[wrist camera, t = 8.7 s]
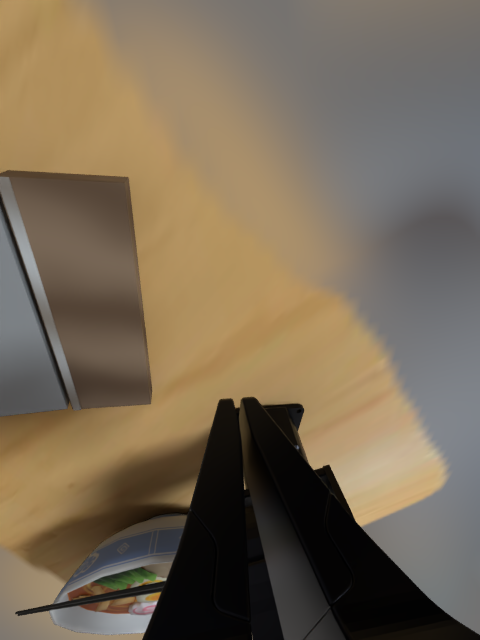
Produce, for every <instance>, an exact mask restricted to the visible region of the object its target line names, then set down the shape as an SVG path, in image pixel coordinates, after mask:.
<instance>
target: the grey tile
mask: <svg viewBox="0 0 480 640" xmlns="http://www.w3.org/2000/svg"><path fill="white" fill-rule="evenodd" d="M69 401H70V400H69V397H68V394H67V391H66V388H65V385H64V382H63V379H62V376H61V373H60V370H59V367H58V364H57V361H56V358H55V355H54V352H53V349H52V346H51V343H50V340H49V337H48V335H47V332H46V329H45V326H44V323H43V320H42V317H41V314H40V311H39V308H38V305H37V302H36V299H35V296H34V293H33V290H32V287H31V284H30V281H29V278H28V275H27V272H26V269H25V266H24V263H23V260H22V257H21V254H20V251H19V248H18V246H17V243H16V240H15V237H14V234H13V231H12V228H11V225H10V222H9V219H8V216H7V213H6V210H5V207H4V204H3V201H2V198H1V195H0V416H9V415H18V414H26V413H35V412H44V411H53V410H62V409H67V408H68V404H69Z"/></svg>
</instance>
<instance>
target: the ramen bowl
mask: <svg viewBox="0 0 480 640" xmlns="http://www.w3.org/2000/svg"><path fill="white" fill-rule="evenodd" d="M186 519H187V515H185V514H179V513H174V514H165V515H160V516H156V517H153V518H151V519H149V520H147V521H144V522H141V523H137V524H134V525H132V526H130V527H128V528H126V529H124V530H122V531H120V532H118V533H116V534H114V535H112V536H111V537H109V538H108V539H106V540H105V541H103V542H102V543H100V544H99V546H98V547H97V548H96V549H95V550H94V551H93V552H92V553H91V554H90V555H89V556H88V557H87V559H86V560H85V561H84V562H83V563H82V564H81V566H80V567H79V568H78V569H77V570H76V572H75V573H74V574H73V576H72V577H71V578H70V579H69V581H68V582H67V583H66V585H65V586H64V587H63V588H62V590H61V591H60V593H59V595H58V596H57V598H56V599H55V601H54V603H53V604H51V605H47V606H42V607H38V608H33V609H28V610H23V611H18V612H16V613H15V614H18V616H20V615H26V614H32V613H37V612H44V611H49V613H50V615H51V618H52V621H53V623H54V624H55V625H58V626H61V627H63V628H66V629H69V630H71V631H74V632H80V633H91V634H103V635H115V634H133V633H145V631H146V629H147V626H148V624H149V621H150V619H151V616H152V614H153V611H154V609H155V606H156V604H157V601H158V599H159V596H160V594H161V591H162V589H163V586H164V584H165V581H166V579H167V576H168V574H169V571H170V568H171V565H172V563H173V560H174V557H175V555H176V552H177V549H178V546H179V542H180V539H181V536H182V533H183V529H184V526H185V522H186Z"/></svg>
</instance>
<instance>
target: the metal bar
mask: <svg viewBox="0 0 480 640" xmlns="http://www.w3.org/2000/svg"><path fill="white" fill-rule="evenodd" d="M0 195H1V198H2V201H3V204H4V207H5V210H6V213H7V216H8V219H9V222H10V225H11V228H12V231H13V234H14V237H15V240H16V243H17V246H18V248H19V251H20V254H21V257H22V260H23V263H24V266H25V269H26V272H27V275H28V278H29V281H30V284H31V287H32V290H33V293H34V296H35V299H36V302H37V305H38V308H39V311H40V314H41V317H42V320H43V323H44V326H45V329H46V332H47V335H48V337H49V340H50V343H51V346H52V349H53V352H54V355H55V358H56V361H57V364H58V367H59V370H60V373H61V376H62V379H63V382H64V385H65V388H66V391H67V394H68V397H69V400H70V403H71V406H72V409H74V410H81V409H87V408H102V407H117V406H132V405H147V404H151V397H152V385H151V376H150V367H149V358H148V349H147V340H146V331H145V322H144V313H143V304H142V295H141V286H140V277H139V268H138V259H137V250H136V241H135V232H134V223H133V214H132V205H131V196H130V187H129V178H128V177H117V176H99V175H81V174H64V173H46V172H28V171H11V170H8V171H5V172H3V173H0Z"/></svg>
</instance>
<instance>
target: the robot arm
mask: <svg viewBox="0 0 480 640" xmlns="http://www.w3.org/2000/svg"><path fill="white" fill-rule="evenodd" d="M303 413H304V408H303V406H302V405H301V404H295V405H281V406H267V407H263V406H262V405H261V404H260V403H259V402H258V400H257V399H256V398H255V397H245V398H242V399H241V404H240V409H237V410H235V405H234V401H233V399H231V398H230V399H220V400H219V403H218V406H217V410H216V413H215V417H214V421H213V424H212V428H211V432H210V435H209V439H208V443H207V446H206V450H205V454H204V457H203V461H202V464H201V468H200V472H199V475H198V479H197V483H196V486H195V490H194V494H193V497H192V501H191V505H190V508H189V512H188V515H187V519H186V522H185V526H184V529H183V533H182V536H181V539H180V542H179V546H178V549H177V552H176V555H175V557H174V560H173V563H172V565H171V568H170V571H169V574H168V576H167V579H166V581H165V584H164V586H163V589H162V591H161V594H160V596H159V599H158V601H157V604H156V606H155V609H154V611H153V614H152V616H151V619H150V621H149V624H148V626H147V629H146V631H145V634H144V636H143V639H142V640H252V635H253V640H480V635H479V634H477V633H476V632H474V631H473V630H471V629H469V628H468V627H466V626H465V625H463V624H462V623H460V622H458V621H457V620H455V619H454V618H453V617H451V616H450V615H449V614H447V613H445V612H444V611H443V610H442V609H441V608H440V607H438V606H437V605H436V604H435V603H434V602H433V601H431V600H430V599H429V598H428V597H427V596H426V595H425V594H424V593H423V592H422V591H421V590H420V589H419V588H418V587H417V586H416V585H415V584H414V583H413V581H412V580H411V579H409V577H408V576H407V575H406V574H405V573H404V572H403V571H402V570H401V569H400V568H399V567H398V566H397V565H396V564H395V563H394V562H393V561H392V560H391V559H390V558H389V557H388V556H387V554H386V553H385V552H384V551H383V550H382V549H381V548H380V547H379V546H378V545H377V544H376V543H375V542H374V541H373V540H372V539H371V538H370V537H369V536H368V535H367V533H366V532H365V531H364V530H363V529H362V528H361V527H360V526H359V525H358V524H357V522H356V521H355V519H354V517H353V514H352V512H351V510H350V508H349V505H348V503H347V501H346V499H345V497H344V495H343V493H342V491H341V489H340V487H339V484H338V482H337V480H336V478H335V476H334V474H333V472H332V470H331V468H330V465H326V466H323V468H320V469H316V470H313V469H312V467H311V466H310V465H309V463H308V460H307V457H306V454H305V451H304V448H303V446H302V443H301V440H300V437H299V434H298V429H299V426H300V422H301V419H302V416H303ZM244 482H245V488H246V490H244Z"/></svg>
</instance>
